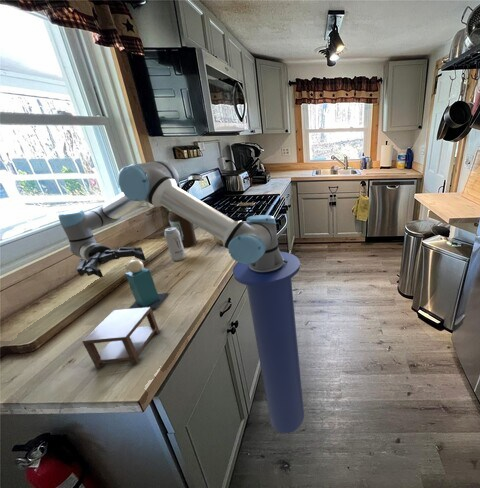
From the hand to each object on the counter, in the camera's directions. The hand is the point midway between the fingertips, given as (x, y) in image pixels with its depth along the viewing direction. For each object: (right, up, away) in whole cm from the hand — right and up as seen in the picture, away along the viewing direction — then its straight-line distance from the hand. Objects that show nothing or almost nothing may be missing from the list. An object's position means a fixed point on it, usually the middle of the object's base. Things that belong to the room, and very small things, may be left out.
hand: (123, 264), depth 91 cm
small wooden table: (+17, -22, -19) cm, 33 cm away
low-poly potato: (+17, +8, +50) cm, 54 cm away
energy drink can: (+1, 0, +33) cm, 33 cm away
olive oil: (-4, +7, +49) cm, 50 cm away
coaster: (+9, -13, +1) cm, 16 cm away
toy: (+8, -13, 0) cm, 15 cm away
